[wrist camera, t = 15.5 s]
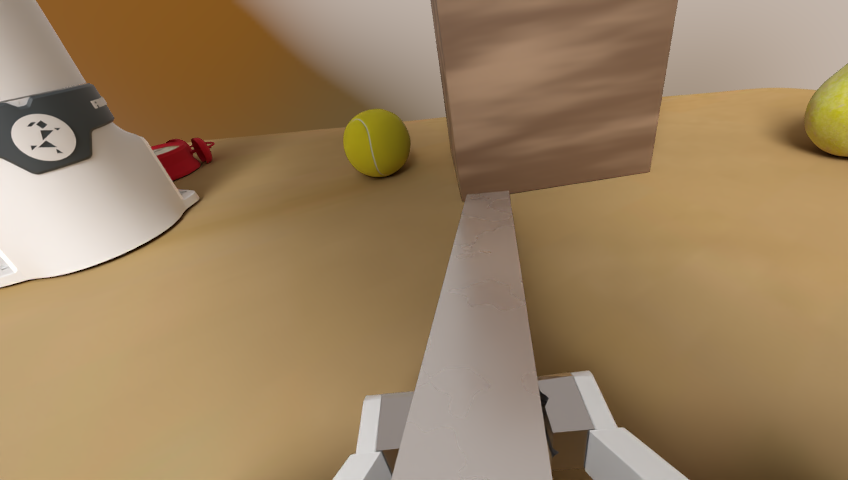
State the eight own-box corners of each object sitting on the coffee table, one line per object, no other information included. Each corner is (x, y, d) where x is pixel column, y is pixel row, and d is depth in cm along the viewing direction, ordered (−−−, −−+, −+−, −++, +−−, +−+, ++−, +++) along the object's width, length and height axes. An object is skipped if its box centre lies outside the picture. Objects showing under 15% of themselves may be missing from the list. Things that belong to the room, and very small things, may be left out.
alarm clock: (88, 171, 52) (169, 117, 61) (124, 205, 57) (194, 149, 66) (130, 171, 48) (210, 113, 57) (165, 207, 52) (234, 148, 61)
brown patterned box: (656, 170, 31) (746, -339, 18) (462, 201, 33) (404, -250, 19) (591, 126, 43) (614, -199, 29) (450, 149, 44) (410, -150, 31)
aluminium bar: (559, 617, 7) (557, 513, 6) (410, 596, 8) (385, 499, 7) (510, 230, 27) (508, 190, 26) (470, 233, 28) (466, 194, 27)
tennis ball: (388, 158, 46) (375, 100, 42) (427, 166, 41) (416, 102, 37) (342, 180, 42) (322, 118, 38) (379, 192, 37) (361, 123, 34)
